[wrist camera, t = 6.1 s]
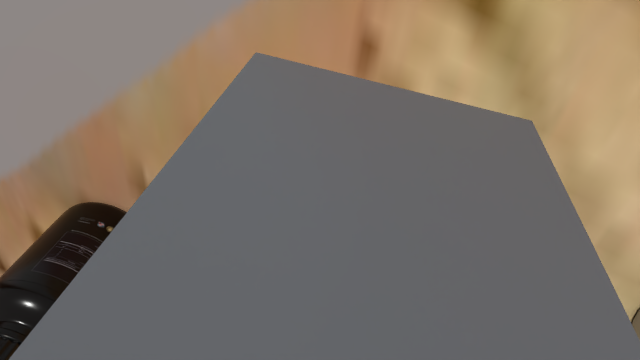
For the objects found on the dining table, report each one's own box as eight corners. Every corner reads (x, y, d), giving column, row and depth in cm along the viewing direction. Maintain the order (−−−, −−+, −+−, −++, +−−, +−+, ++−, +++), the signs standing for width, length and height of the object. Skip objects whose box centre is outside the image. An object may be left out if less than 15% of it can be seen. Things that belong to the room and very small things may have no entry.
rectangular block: (531, 120, 11) (754, 574, 4) (417, 344, 16) (427, 728, 9) (255, 51, 11) (-5, 376, 4) (226, 295, 16) (83, 635, 9)
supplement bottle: (135, 285, 37) (34, 440, 27) (52, 239, 35) (-86, 384, 25) (171, 234, 33) (70, 390, 23) (81, 180, 32) (-67, 322, 22)
